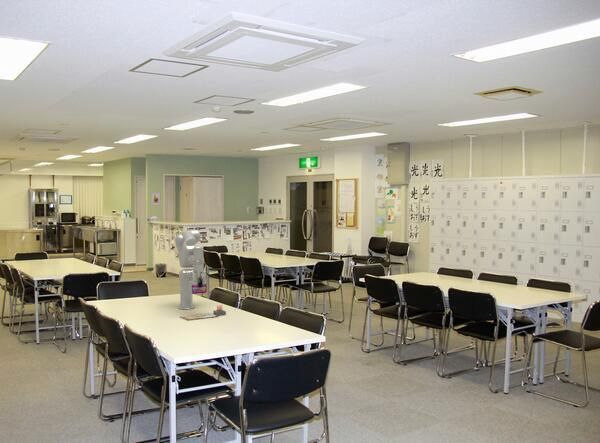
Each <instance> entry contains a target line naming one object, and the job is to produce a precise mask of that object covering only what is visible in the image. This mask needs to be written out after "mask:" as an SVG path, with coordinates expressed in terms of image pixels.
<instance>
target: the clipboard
mask: <svg viewBox="0 0 600 443" xmlns="http://www.w3.org/2000/svg"><path fill="white" fill-rule="evenodd" d="M179 317H180V318H181V319H183V320H184V321H187V322H188V321H196V320H203V319H205V320H206V319H213V318H219V316H216V315H214V314H213V313H210V312H208V313H207V312H206V313H198V314H190V315H181V316H179Z"/></svg>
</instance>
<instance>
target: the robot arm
mask: <svg viewBox="0 0 600 443" xmlns="http://www.w3.org/2000/svg"><path fill="white" fill-rule="evenodd" d="M201 236H202V234H201V232H200V230H197V229H186V230H183V232H181V234H178V235H176V236H175V237H174V245H175V247H176V249H177V252H178V261H179V267H181V268H183V269H180V270H179V272H178V277H179V287H180V288H179V291H180V301H179V303H180V305H179V306H178V310H194V309H195V306H194V305H193V294H192V293H191V272H193V271H195V272H196V278H198V280H199V282H198V288H201V287H203V284H202V282H203V277H204V271H205V270H204V246H202V245H196V244H197V243H199V241H200V240H201V238H202V237H201ZM199 277H201V278H199Z"/></svg>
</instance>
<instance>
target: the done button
mask: <svg viewBox="0 0 600 443" xmlns="http://www.w3.org/2000/svg"><path fill="white" fill-rule="evenodd" d="M216 310H217V312H220V311H222V310H223V305H222V304H217V305H216Z"/></svg>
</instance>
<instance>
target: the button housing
mask: <svg viewBox="0 0 600 443" xmlns="http://www.w3.org/2000/svg"><path fill="white" fill-rule="evenodd" d="M212 312H213V313H212V314H214V315H216V316H218V317H220V316H226V315H227V311H226V310H224V309H222V311H220V312H217V309H215V310H213V311H212Z"/></svg>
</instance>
